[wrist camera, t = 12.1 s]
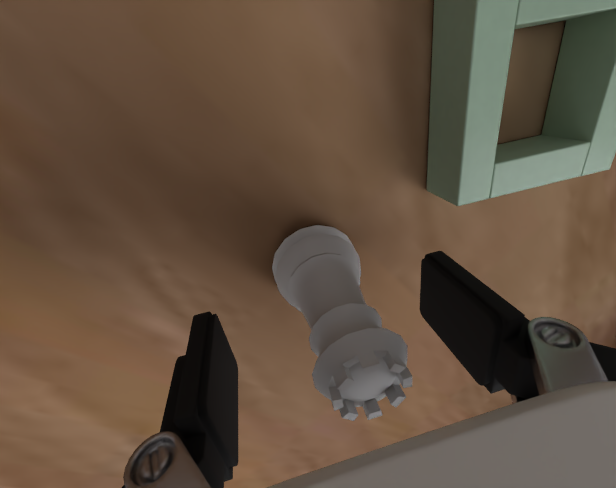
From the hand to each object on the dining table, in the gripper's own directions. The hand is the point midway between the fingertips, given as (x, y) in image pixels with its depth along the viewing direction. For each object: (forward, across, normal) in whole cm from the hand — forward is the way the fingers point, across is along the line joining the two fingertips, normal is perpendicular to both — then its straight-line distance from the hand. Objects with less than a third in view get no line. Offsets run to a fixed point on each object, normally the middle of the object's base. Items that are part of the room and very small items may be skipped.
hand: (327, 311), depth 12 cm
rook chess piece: (+5, 0, 0) cm, 5 cm away
